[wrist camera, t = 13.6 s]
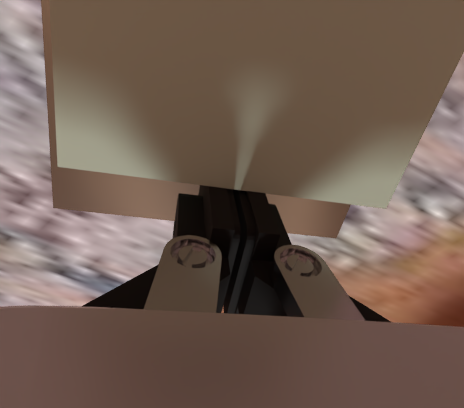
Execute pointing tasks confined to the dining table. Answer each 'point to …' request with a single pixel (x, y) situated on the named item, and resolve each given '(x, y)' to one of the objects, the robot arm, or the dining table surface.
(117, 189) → the housing
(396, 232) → the dining table surface
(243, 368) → the robot arm
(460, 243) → the dining table surface
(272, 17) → the pale green block
